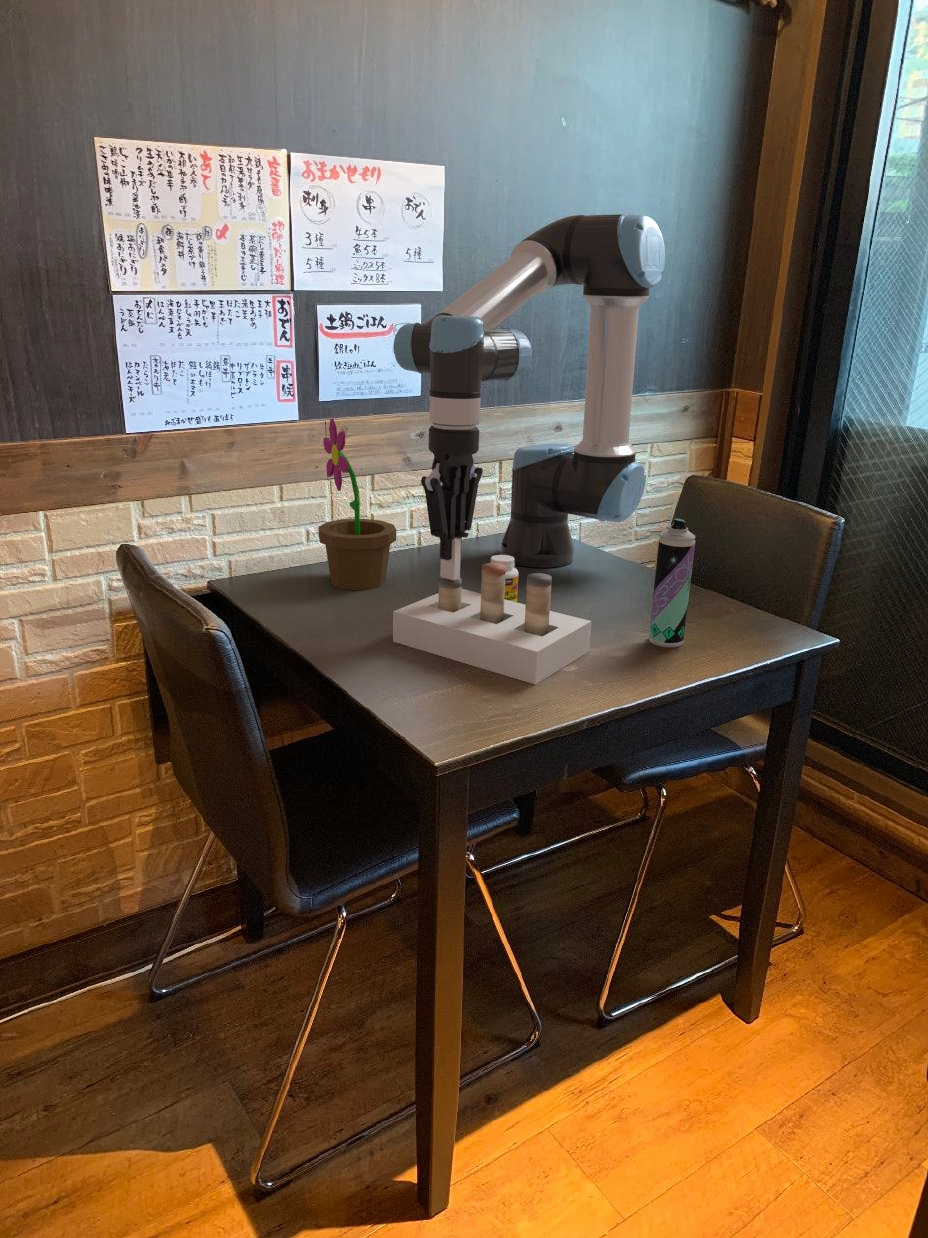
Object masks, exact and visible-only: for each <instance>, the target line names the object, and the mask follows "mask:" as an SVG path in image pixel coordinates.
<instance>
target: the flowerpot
mask: <svg viewBox="0 0 928 1238" xmlns="http://www.w3.org/2000/svg"><path fill="white" fill-rule="evenodd" d="M328 431H329V432H328V433H329V437H323V439H322V441H323V442H322V443H323V448H324V451H325V452H326V453H327V454H329V455H330V454H331V458H329V459H328V460H327V462H326V465H325V466H326V468H325V469H326V477H327V478H330V477H334V478H333V479H334V485H335V487H336V489H337V490H336V491H338V492H339V491H342V483H343V478H342V477H343V475H342V473H344V474H348V475H349V476H350V480H351V481H350V482H351V486H352V492H353V496H354V500H352V501H350V502H349V507H350V508H351V509H352V510H353V511H354V518H343V519H342V518H341V519H337V520H332V521H331V520H330V521H327V522H325V523H323V524H320V525H318V539H319V543H320V544H323V545H325V552H326V558H327V564H328V570H329V571H328V572H329V577H330V578H329V579H330V582H331V583H330V584H331V585H332V586H334V587H336V588H339V589H343V590H349V591H350V590H351V591H355V590H356V591H357V590H358V591H359V590H363V591H364V590H372V589H376V588H379V587H382V586H383V585H384V584H385V583H386V579H387V571H388V565H389V563H388V562H389V556H390V549H391V545H392V544H393V543H395V542H396V541H397V527H396V526H395V525H394V524H393V523H390V522H387V521H384V520H380V519H370V518H361V517H360V516H361V512H360V511H361V509H360V506H361V501H360V490H359V489H360V488H359V487H358V481H357V477H356V474H355V471H354V469H353V468H352V465H351V463H350V461H349V460H348V457H346V455H345V454H344V453H343V451H344V448H345V445H346V433H345V430H343V431H340V432H338V431H337V424H336V423H335V420H334V418H333V417H332V418H330V420H329V426H328Z"/></svg>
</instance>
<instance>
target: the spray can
mask: <svg viewBox="0 0 928 1238" xmlns="http://www.w3.org/2000/svg"><path fill="white" fill-rule="evenodd" d="M695 539H696V535H695V534H694V533H692V532H691V531H689V528H688V527H687V525H686V521H685V520H684V519H683V518H679V517H677V518H673V523H672V524H671V525H670V526H668V528H667V529H666V530H663V531H661V532H660V534H659V538H658V547H657V553H656V555H657V556H656V565H655V566H656V567H655V576H654V585H653V591H652V593H653V594H652V602H651V612H650V623H649V630H648V631H649V633H648V641H649V642H650V643H651V644H653V645H655V646H658V647H662V648H677V647H681V646H682V645H684V641H685V631H686V623H687V615H688V607H689V598H690V590H691V581H692V580H691V579H692V573H693V565H694V556H695V547H696V540H695Z"/></svg>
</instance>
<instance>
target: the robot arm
mask: <svg viewBox="0 0 928 1238" xmlns="http://www.w3.org/2000/svg"><path fill="white" fill-rule="evenodd" d="M663 237H664V236H663V233H662V232H661V230H660V227H659V226H658V224H657V222H656V221H655V220H654V219H653V218H652V217H649V216H647V215H643V214H631V213H623V214H622V213H621V214H591V215H588V214H587V215H585V214H575V215H569V216H565V217H563V218H560V219H557V220H555V221H553V222H550V223H548V224H546V225H545V226H543V227H541V228H539V229H538V230H536V231H534V232H532V233H531V234H530V235H528V236H527V237H525V238H524V239H523V240H521V241H520V242H519V243H517V244H516V245H515V246H514V247H513V249H512V251H511V253H510V257H509V258H508V259H506V261H504V262H503V263H501V264H500V265H498V266H497V267H496V268H495V269H494V270H492V271H491V272H490V273H489V274H487V275H486V276H485V277H483V278H482V279H480V281H479V282H476V284H475V285H473V286H472V287H470V288H469V289H468V290H467V291H466V292H464V293H463V294H462V295H460V296H459V297H458V298H456V299H455V300H454V301H452V302H451V303H450V304H449V305H447V306H446V307H445V308H444V309H442V310H441V311H439V313H437V314H435V315H434V316H433V317H432V318H430V319H429V320H427V321H426V322H424V323H420V322H414V323H406V324H403V325H402V326H401V327H400V328H399V329H398V330H397V332H396V333H395V337H394V339H393V346H392V347H393V354H394V358H395V360H396V363H397V364H398V366H399V367H401V368H402V369H403V370H406V371H408V372H409V371H410V372H415V373H418V374H420V375H421V374H430V375H429V376H430V379H429V381H430V382H429V387H430V388H429V410H428V411H429V414H428V415H429V417H428V420H429V422H430V423H431V424H432V425H430V427H429V428H428V445H427V446H428V447H427V448H428V450H429V451H430V452H431V453H432V454H433V461H432V465H431V470H432V471H431V473H430V474H429V475H428V476H425V475H423V476H422V477H421V479H420V484H421V486H422V488H423V490H424V495H425V502H426V509H427V517H428V523H429V529H430V531H429V532H430V535H431V536H432V537H435V538H439V558H440V567H439V568H440V569H439V570H440V571H439V572H440V573H439V575H440V576H439V578H440V577H441V578H445V579H449V580H453V581H455V580H457V579H460V578H461V555H462V548H463V546H462V545H463V544H462V543H463V542H462V541H463V538H465V539H467V538H468V537H469V532H466V531H471V529H472V527H473V526H472V525H473V520H474V519H473V518H474V513H475V507H476V501H477V495H478V488H479V483H480V481H481V478H482V476H483V472H484V470H483V468H482V467H479V466H476V465H475V464H474V463H475V462H474V461H475V459H474V457H473V455H475V454H477V453H478V452H479V449H480V429H479V427H477V426H478V425H479V424H480V423H481V399H482V398H481V397H482V396H481V393H482V392H481V390H482V388H481V387H482V382H489V381H490V382H491V381H505V382H506V381H509V380H511V379H515V378H518V377H521V376H522V375H524V374H525V373H526V372H527V370H528V369H529V367H530V365H531V362H532V357H533V351H532V349H533V348H532V346H531V342H530V340H529V339H528V337H527V336H526V334H524V333H523V332H522V331H520V330H519V329H514V328H509V327H507V328H506V327H505V328H504V327H501V328H496V327H497V326H498V325H499V324H501V323H502V322H503V321H504V320H506V319H507V318H508V317H509V316H511V315H512V314H513V313H514V312H515V311H516V310H518V309H519V308H520V307H521V306H523V305H524V304H525V303H526V302H527V301H529V300H530V299H531V298H532V297H533V296H534V295H541V294H545V293H547V292H548V291H550V290H551V289H552V288H554V287H557V286H564V285H579V286H580V285H581V286H583V292H582V297H583V299H584V300H585V301H586V302H587V303H588V304H589V306H590V312H589V313H590V315H589V331H588V333H589V334H588V345H587V347H588V348H587V363H586V379H585V380H586V381H585V396H584V397H585V398H584V411H583V425H582V426H583V429H582V439H581V441H580V442H579V443H577V445H576V446H574V447H573V445H572V444H569V443H561V442H559V443H542V444H541V443H540V444H532V445H531V444H530V445H525V446H521V447H519V448H518V449H516V450H515V452H514V455H513V461H512V467H511V472H512V474H511V493H510V498H511V499H510V500H511V501H510V518H509V522H508V525H507V527H506V531H505V533H504V535H503V538H502V541H501V544H500V553H499V555H509V556H512V557H514V564H515V566H516V565H517V566H521V567H527V568H528V567H530V568H542V569H543V568H544V569H545V568H556V567H562V566H567V565H569V564H571V563H573V561H574V559H575V558H574V557H575V547H574V544H573V543H574V542H573V539H572V535H571V531H570V527H569V521H568V520H569V515H571V516H572V515H573V516H577V517H578V516H579V517H582V518H583V517H584V518H588V519H593V520H597V521H600V522H610V523H622V522H625V521H626V520H627V519H629V518H630V517H631V516H632V515H633V514H634V512H635V511H636V509H637V508H638V506H639V504H640V503H641V500H642V498H643V495H644V491H645V488H646V482H647V473H646V469H645V467H644V465H643V464H641V463H640V462H637V461H636V457H637V456H636V453H637V451H636V449H635V447H634V446H633V445H631V442H629V440H630V428H631V427H630V426H631V416H632V414H631V413H632V403H633V389H634V388H633V387H634V377H635V364H636V353H637V338H638V328H639V327H638V326H639V317H640V316H639V314H640V313H639V311H640V307H641V306H642V305H643V304H644V303H645V302H646V301H647V300H648V299H649V297H650V288H653V287H655V286H658V284H659V283H660V281H661V279H662V274H663V273H664V272H665V265H666V247H665V241H664V238H663Z"/></svg>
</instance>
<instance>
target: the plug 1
mask: <svg viewBox="0 0 928 1238" xmlns="http://www.w3.org/2000/svg"><path fill="white" fill-rule="evenodd" d="M462 584H463V579H462V577H460V579H457V580H455V581H453V580H449V579H445V578H441V577H440V576H439V578H438V593H439V601H438V609H441V610H445V611H449V612H452V613H454V612H456V611H458V610H461V593H462V589H463V587H462Z"/></svg>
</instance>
